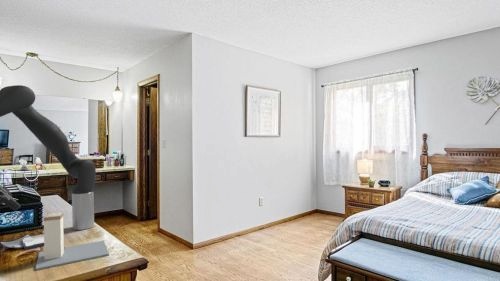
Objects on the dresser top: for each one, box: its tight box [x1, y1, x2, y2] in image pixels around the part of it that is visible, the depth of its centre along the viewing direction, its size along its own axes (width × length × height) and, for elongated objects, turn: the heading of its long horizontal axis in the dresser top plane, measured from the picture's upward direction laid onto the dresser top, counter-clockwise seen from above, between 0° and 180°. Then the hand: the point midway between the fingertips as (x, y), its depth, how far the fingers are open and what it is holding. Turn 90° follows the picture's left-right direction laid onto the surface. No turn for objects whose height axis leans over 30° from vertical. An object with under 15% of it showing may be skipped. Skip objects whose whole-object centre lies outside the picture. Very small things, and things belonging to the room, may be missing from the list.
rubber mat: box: [35, 240, 110, 271], centre depth 110 cm, size 17×22×1 cm
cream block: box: [43, 212, 65, 260], centre depth 107 cm, size 5×5×15 cm
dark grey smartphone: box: [23, 233, 44, 251], centre depth 124 cm, size 9×2×16 cm
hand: (18, 208), depth 103 cm, fingers closed
